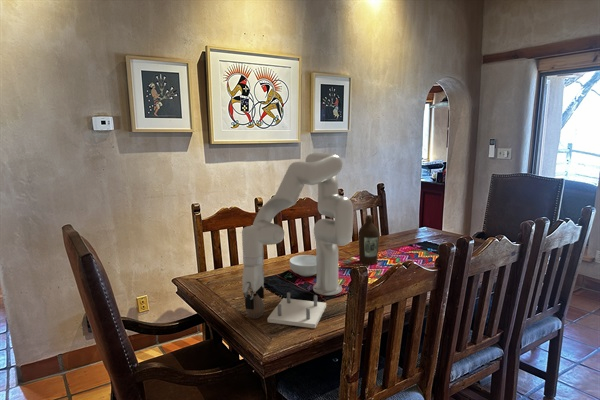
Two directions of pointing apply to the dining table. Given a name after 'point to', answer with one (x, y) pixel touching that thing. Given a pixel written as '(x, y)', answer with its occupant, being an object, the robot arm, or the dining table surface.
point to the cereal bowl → (303, 265)
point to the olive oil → (368, 242)
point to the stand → (297, 312)
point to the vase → (256, 308)
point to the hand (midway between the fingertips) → (255, 303)
